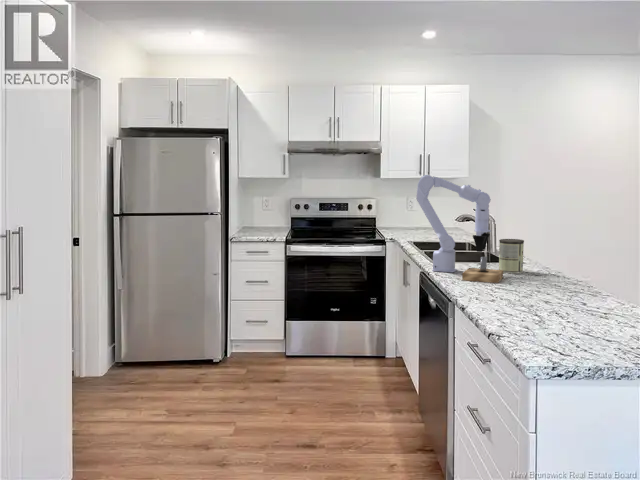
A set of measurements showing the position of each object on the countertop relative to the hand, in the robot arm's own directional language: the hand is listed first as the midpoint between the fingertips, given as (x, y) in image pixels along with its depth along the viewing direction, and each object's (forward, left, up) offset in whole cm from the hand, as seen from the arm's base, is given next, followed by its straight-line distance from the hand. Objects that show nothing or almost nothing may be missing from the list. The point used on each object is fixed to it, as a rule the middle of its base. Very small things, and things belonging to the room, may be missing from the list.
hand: (480, 250), depth 245 cm
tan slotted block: (+4, -17, -9) cm, 20 cm away
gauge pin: (+4, -17, -9) cm, 20 cm away
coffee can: (+12, +6, -10) cm, 16 cm away
